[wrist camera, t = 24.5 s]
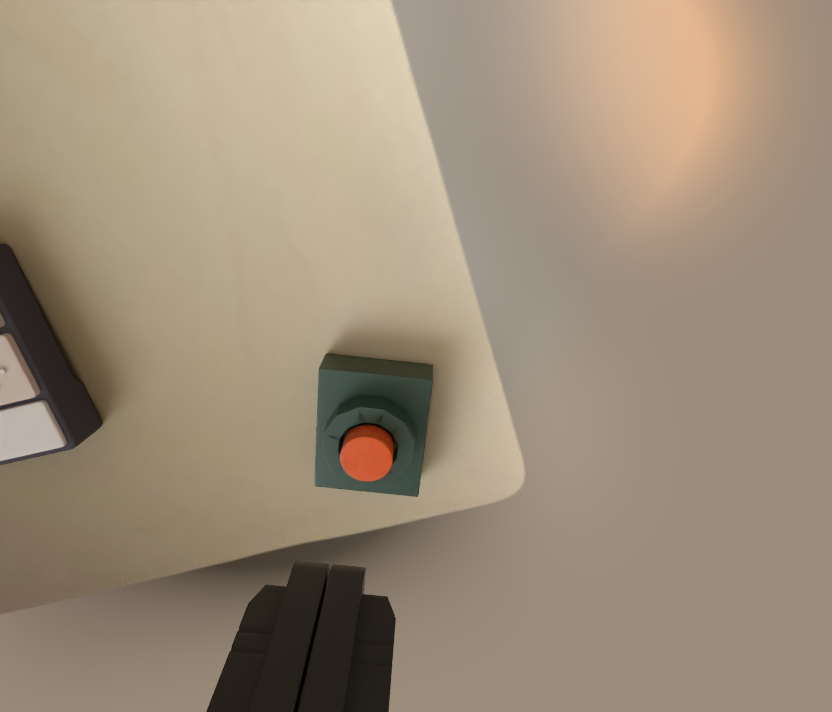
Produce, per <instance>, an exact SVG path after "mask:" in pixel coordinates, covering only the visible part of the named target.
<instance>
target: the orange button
mask: <svg viewBox="0 0 832 712" xmlns="http://www.w3.org/2000/svg"><path fill="white" fill-rule="evenodd" d="M393 453H394V443H393V440H392V438H391V436H390V435H389V434H388V432H387V431H385V430H384V429H383V428H381V427H378V426H376V425H371V424H364V425H360V426H357V427H355V428H353V429H352V430H350V431H349V432H348V433H347V435H346V437H345V439H344V442H343V446H342V449H341V453H340V463H341V465H342V467H343V469H344V471H345V472H346V473H347V474H348V475H349V476H351V477H352V478H354V479H357V480H360V481H375V480H378V479H380V478H382V477H384V476H385V475H386V474H387V473H388V472H389V470H390V468H391V466H392V462H393Z"/></svg>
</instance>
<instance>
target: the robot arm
mask: <svg viewBox="0 0 832 712" xmlns="http://www.w3.org/2000/svg"><path fill="white" fill-rule="evenodd" d="M365 573H366V568H364V567H354V566H344V565H334V564H333V565H332V566H331V570H330V564H322V563H313V562H303V561H295V563H294V565H293V568H292V572H291V575H290V578H289V581H288V584H287V587H283V586H274V585H265V586H264V587H263V588H262V590H261V591H260V592H259V593H258V594H257V595H256V596H255V597H254V598H253V599H252V600H251V601H250V602H249V604H248V606H247V608H246V611H245V613H244V616H243V619H242V621H241V624H240V626H239V631H238V632H237V634H236V637H235V639H234V642H233V644H232V649H231V651H230V652H229V655H228V657H227V660H226V663H225V665H224V668H223V670H222V673H221V676H220V678H219V681H218V684H217V686H216V688H215V691H214V694H213V696H212V699H211V701H210V704H209V707H208V709H207V712H388V711H389V698H390V684H391V672H392V658H393V645H394V633H395V620H396V618H395V615H394V613H393V610H392V608H391V605H390V602H389V600H388V597H385V596H375V595H365V594H364V585H365Z"/></svg>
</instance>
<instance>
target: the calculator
mask: <svg viewBox="0 0 832 712" xmlns="http://www.w3.org/2000/svg"><path fill="white" fill-rule="evenodd" d="M101 425H102V423H101V420H100V418H99V416H98V414H97V412H96V410H95V408H94V406H93V404H92V402H91V400H90V398H89V396H88V394H87V392H86V390H85V388H84V385H83V384H82V383H80V382H79V381H78V380H76V379H75V378H74V377H73V376H72V374H71V372H70V370H69V368H68V366H67V364H66V362H65V360H64V357H63V355H62V353H61V351H60V349H59V347H58V345H57V343H56V341H55V339H54V337H53V335H52V333H51V331H50V329H49V327H48V325H47V323H46V321H45V319H44V317H43V315H42V313H41V311H40V309H39V307H38V305H37V303H36V301H35V299H34V296H33V294H32V292H31V290H30V288H29V286H28V284H27V282H26V280H25V278H24V276H23V274H22V272H21V270H20V268H19V266H18V264H17V262H16V260H15V258H14V256H13V254H12V252H11V250H10V248H9V247H8V246H7V245H5V244H0V465H3V464H7V463H12V462H16V461H21V460H25V459H30V458H34V457H39V456H43V455H48V454H52V453H57V452H61V451H66V450H70V449H73V448H75V447H76V446H78V445H79V444H80V443H81V442H83V441H84V440H85V439H86V438H88V437H89V436H90V435H91V434H93V433H94V432H95V431H96V430H98V429H99V428H100V427H101Z"/></svg>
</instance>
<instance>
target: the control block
mask: <svg viewBox="0 0 832 712" xmlns="http://www.w3.org/2000/svg"><path fill="white" fill-rule="evenodd" d="M432 383H433V365H428V364H418V363H409V362H399V361H390V360H380V359H371V358H361V357H352V356H343V355H333V354H326V355H325V357H324V359H323V361H322V363H321V365H320V368H319V382H318V408H317V434H316V461H315V486H318V487H328V488H337V489H347V490H357V491H367V492H376V493H386V494H396V495H405V496H415V497H418V494H419V486H420V478H421V470H422V462H423V454H424V446H425V439H426V431H427V423H428V415H429V407H430V399H431V391H432ZM364 424H371V425H376V426H378V427H381V428H383V429H384V430H385V431H387V432H388V434H389V435H390V436H391V438H392V440H393V443H394V453H393V462H392V466H391V468H390V470H389V472H388V473H387V474H386V475H385V476H384V477H382V478H380V479H378V480H375V481H360V480H357V479H354V478H352V477H351V476H349V475H348V474H347V473H346V472H345V471H344V469H343V467H342V465H341V463H340V453H341V449H342V446H343V442H344V439H345V437H346V435H347V433H348V432H349V431H350V430H352V429H353V428H355V427H357V426H360V425H364Z"/></svg>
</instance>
